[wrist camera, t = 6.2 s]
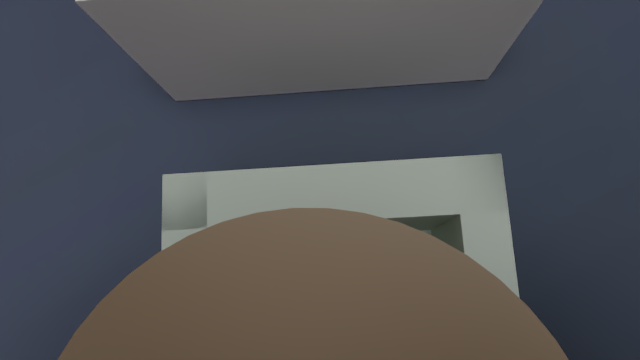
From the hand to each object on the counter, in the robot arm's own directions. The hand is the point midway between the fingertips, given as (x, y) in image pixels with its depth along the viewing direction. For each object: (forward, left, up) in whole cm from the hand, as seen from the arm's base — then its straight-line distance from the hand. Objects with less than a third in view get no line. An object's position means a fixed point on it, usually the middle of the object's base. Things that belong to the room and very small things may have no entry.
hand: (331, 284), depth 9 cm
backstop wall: (+7, +7, -8) cm, 12 cm away
